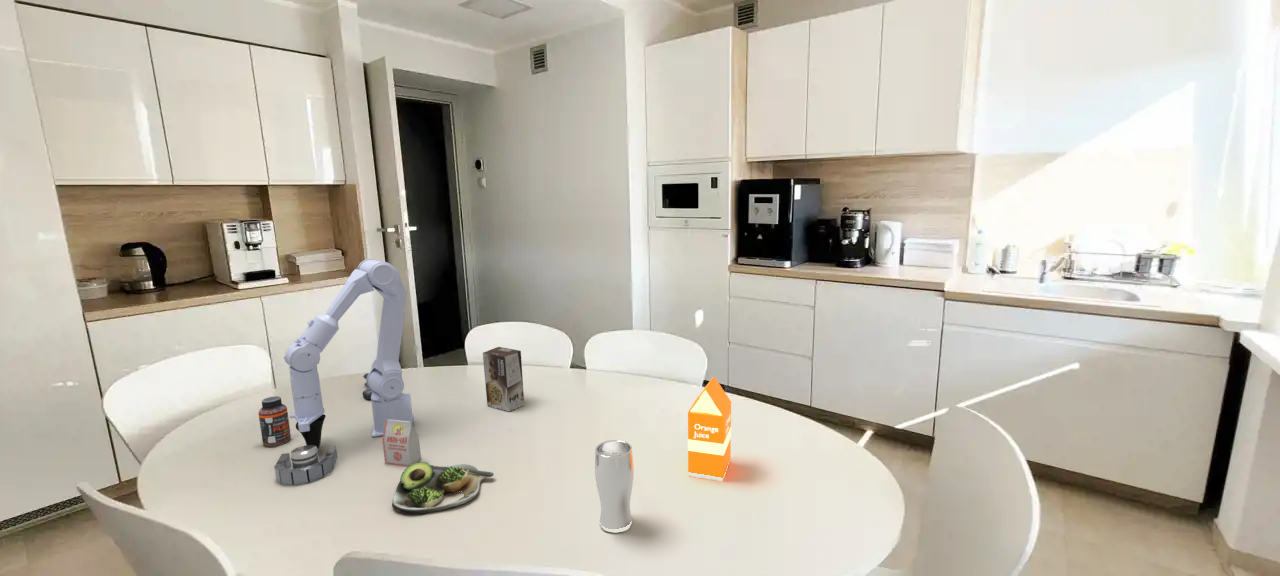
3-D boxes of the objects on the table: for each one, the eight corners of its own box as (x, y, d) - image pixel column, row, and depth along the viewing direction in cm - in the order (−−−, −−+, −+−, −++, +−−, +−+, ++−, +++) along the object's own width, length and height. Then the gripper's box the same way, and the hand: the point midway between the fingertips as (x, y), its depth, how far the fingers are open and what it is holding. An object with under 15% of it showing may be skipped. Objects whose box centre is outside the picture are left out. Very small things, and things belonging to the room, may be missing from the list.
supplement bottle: (277, 448, 135) (270, 404, 133) (257, 446, 136) (249, 403, 134) (297, 437, 140) (290, 395, 138) (277, 435, 142) (270, 393, 140)
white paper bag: (396, 456, 130) (391, 415, 128) (421, 459, 128) (416, 418, 126) (385, 463, 126) (380, 422, 124) (410, 467, 125) (406, 425, 123)
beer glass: (596, 513, 105) (594, 440, 102) (633, 511, 106) (631, 438, 103) (597, 536, 98) (594, 458, 96) (636, 534, 99) (634, 456, 96)
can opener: (391, 397, 166) (389, 379, 165) (365, 403, 163) (363, 385, 162) (380, 381, 181) (378, 364, 180) (356, 385, 177) (354, 369, 176)
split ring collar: (337, 457, 130) (336, 445, 129) (330, 479, 120) (328, 466, 119) (283, 466, 126) (281, 454, 125) (271, 489, 116) (269, 476, 116)
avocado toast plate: (495, 463, 126) (493, 444, 125) (492, 506, 109) (491, 485, 108) (404, 474, 122) (402, 455, 121) (387, 521, 105) (384, 499, 104)
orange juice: (731, 462, 124) (732, 376, 120) (723, 482, 115) (724, 391, 112) (696, 457, 126) (696, 373, 122) (687, 476, 118) (686, 387, 114)
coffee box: (525, 404, 158) (522, 350, 155) (509, 412, 153) (505, 356, 150) (502, 398, 163) (499, 345, 160) (486, 406, 158) (481, 351, 155)
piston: (322, 463, 127) (319, 443, 126) (317, 474, 122) (314, 453, 121) (296, 467, 125) (293, 447, 124) (290, 478, 120) (287, 457, 120)
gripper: (294, 386, 135) (301, 438, 137) (279, 408, 121) (288, 465, 124) (327, 382, 137) (333, 433, 140) (316, 403, 124) (323, 459, 126)
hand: (314, 447), depth 132 cm, fingers closed
